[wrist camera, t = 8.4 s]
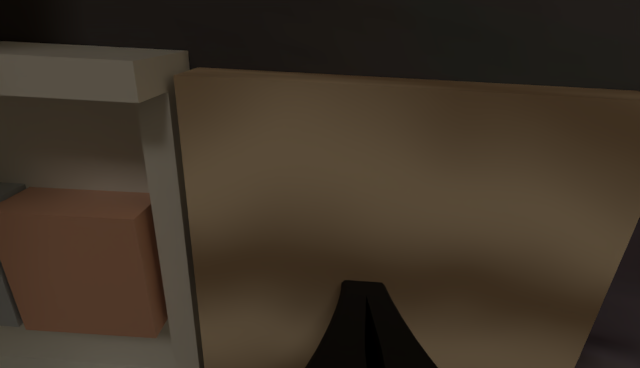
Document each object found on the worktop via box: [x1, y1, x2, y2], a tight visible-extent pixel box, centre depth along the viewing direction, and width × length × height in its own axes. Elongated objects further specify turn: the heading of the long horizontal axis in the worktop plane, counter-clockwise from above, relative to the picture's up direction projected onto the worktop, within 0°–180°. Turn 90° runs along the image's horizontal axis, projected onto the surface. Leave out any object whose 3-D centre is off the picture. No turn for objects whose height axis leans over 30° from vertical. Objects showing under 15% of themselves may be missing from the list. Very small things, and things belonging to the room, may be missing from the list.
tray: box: [0, 41, 204, 368], centre depth 14 cm, size 15×13×4 cm
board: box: [173, 67, 640, 368], centre depth 14 cm, size 14×14×2 cm
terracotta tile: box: [0, 187, 168, 338], centre depth 14 cm, size 5×5×2 cm
